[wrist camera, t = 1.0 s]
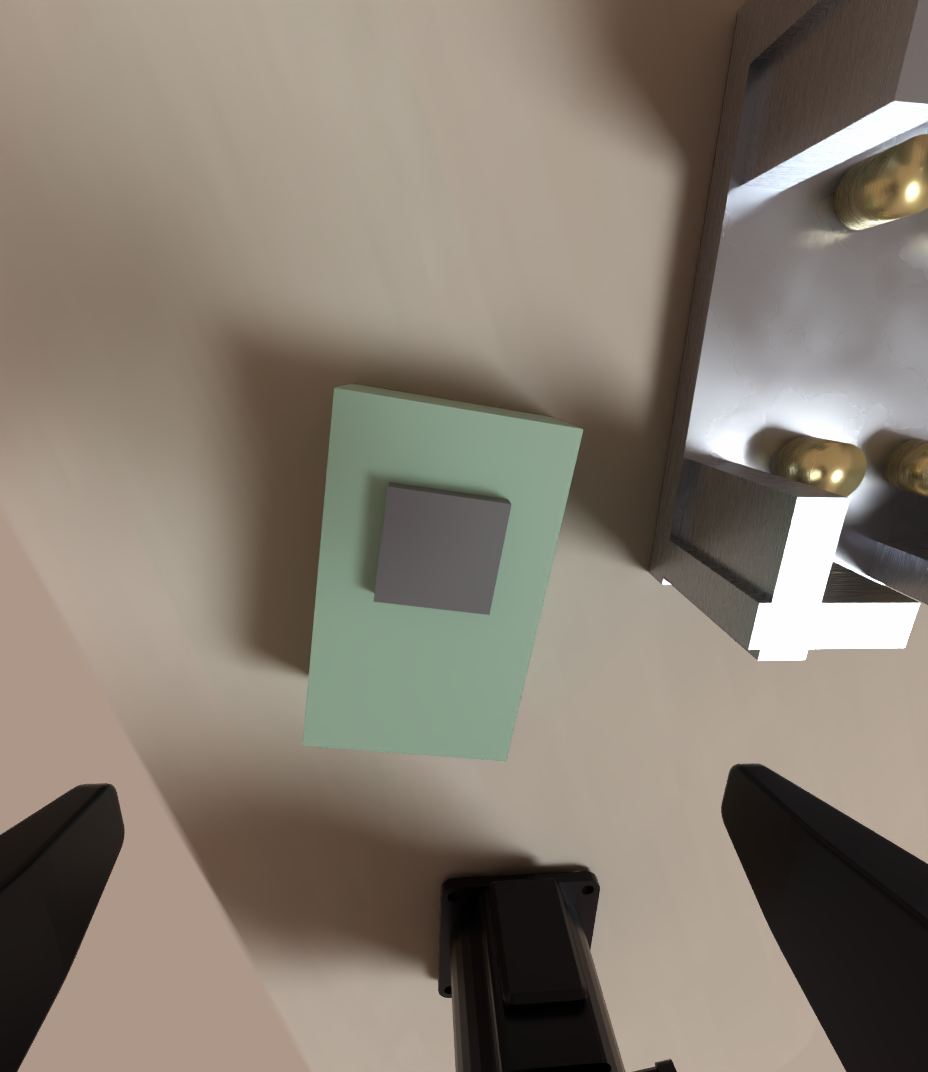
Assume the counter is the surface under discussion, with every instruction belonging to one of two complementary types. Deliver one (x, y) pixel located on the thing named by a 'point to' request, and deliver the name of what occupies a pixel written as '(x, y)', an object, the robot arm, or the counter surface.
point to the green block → (431, 571)
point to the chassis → (809, 339)
